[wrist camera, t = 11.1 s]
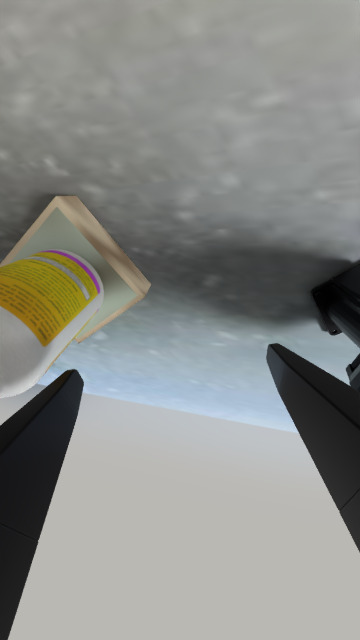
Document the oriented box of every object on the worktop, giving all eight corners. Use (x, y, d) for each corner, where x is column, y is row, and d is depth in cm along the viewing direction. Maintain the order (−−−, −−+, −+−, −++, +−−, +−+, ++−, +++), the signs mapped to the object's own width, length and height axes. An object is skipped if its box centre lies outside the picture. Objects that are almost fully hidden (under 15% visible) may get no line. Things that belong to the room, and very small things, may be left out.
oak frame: (151, 284, 22) (144, 297, 19) (91, 328, 25) (78, 343, 23) (76, 195, 18) (54, 196, 15) (17, 262, 21) (-8, 272, 19)
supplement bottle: (32, 234, 17) (-281, 313, 6) (112, 263, 17) (-33, 381, 7) (35, 302, 20) (-157, 431, 9) (101, 324, 21) (-5, 466, 10)
